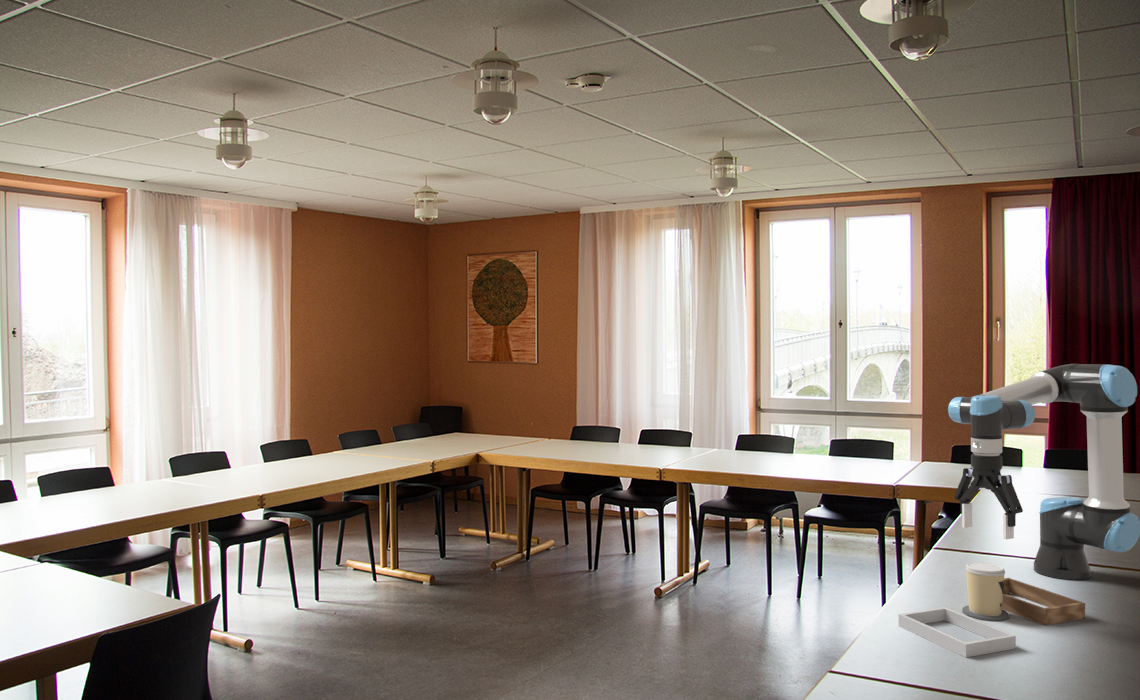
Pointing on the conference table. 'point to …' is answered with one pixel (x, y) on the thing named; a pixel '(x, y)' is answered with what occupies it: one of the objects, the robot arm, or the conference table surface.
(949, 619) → the gray rectangular frame
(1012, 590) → the frame
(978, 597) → the coffee cup
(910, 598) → the conference table surface
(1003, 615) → the coaster
